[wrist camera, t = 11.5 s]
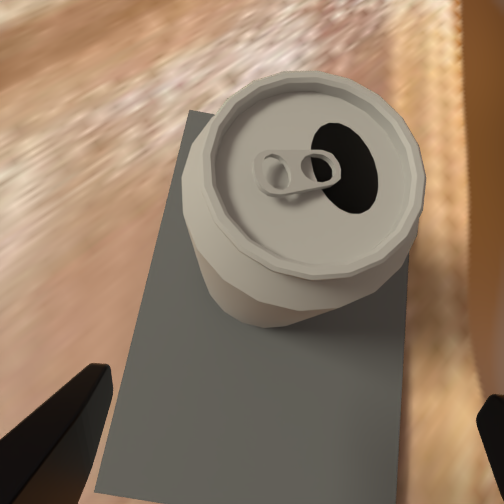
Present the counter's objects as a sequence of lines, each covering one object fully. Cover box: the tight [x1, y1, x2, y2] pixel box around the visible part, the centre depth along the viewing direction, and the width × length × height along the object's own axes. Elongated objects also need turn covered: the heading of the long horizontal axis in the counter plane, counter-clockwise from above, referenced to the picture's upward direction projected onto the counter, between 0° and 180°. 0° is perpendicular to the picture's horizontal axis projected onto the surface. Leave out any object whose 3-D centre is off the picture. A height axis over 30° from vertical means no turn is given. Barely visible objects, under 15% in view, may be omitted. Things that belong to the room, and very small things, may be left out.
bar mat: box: [94, 110, 409, 504], centre depth 21 cm, size 22×15×1 cm
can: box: [181, 71, 426, 328], centre depth 15 cm, size 8×8×12 cm
